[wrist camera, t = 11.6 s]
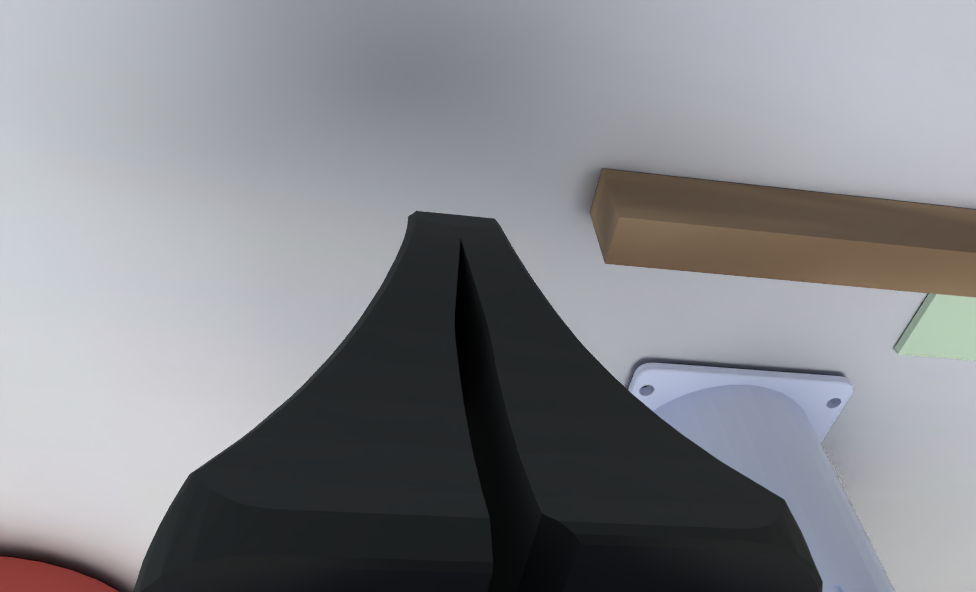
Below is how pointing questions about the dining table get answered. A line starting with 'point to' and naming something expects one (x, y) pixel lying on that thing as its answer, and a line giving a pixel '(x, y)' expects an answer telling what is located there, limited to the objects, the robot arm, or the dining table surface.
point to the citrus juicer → (44, 578)
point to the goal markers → (942, 329)
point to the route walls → (784, 234)
